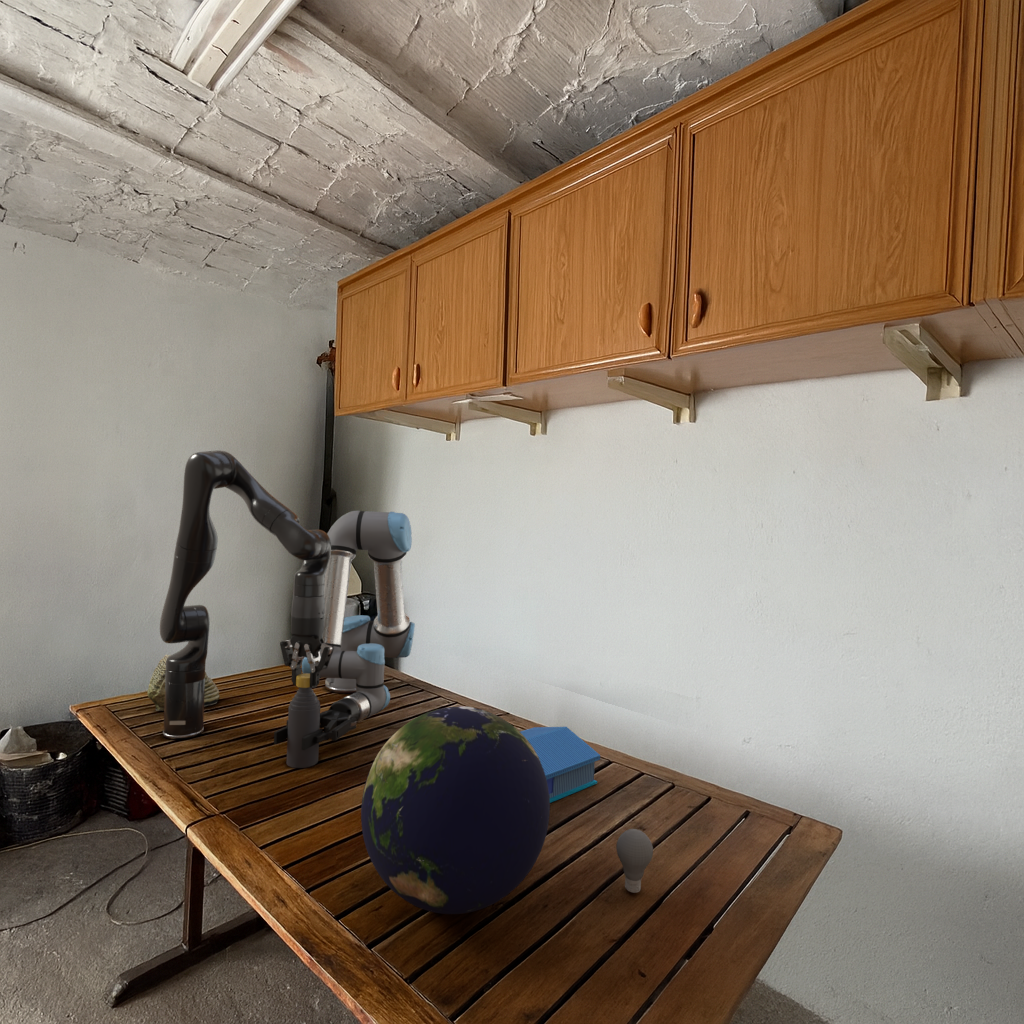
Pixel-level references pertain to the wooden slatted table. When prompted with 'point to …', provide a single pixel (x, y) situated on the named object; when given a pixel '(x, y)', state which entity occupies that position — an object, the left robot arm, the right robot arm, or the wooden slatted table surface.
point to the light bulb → (634, 857)
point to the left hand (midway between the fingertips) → (305, 685)
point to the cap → (303, 680)
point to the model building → (563, 759)
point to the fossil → (158, 687)
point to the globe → (455, 810)
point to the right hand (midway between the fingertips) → (289, 741)
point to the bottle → (302, 728)
